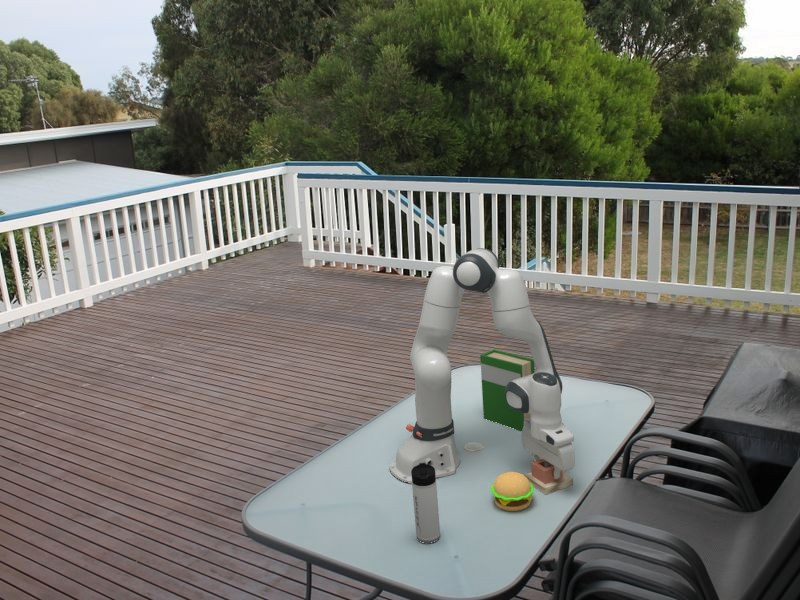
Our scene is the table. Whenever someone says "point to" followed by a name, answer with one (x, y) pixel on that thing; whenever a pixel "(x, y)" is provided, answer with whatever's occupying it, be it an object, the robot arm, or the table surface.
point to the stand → (549, 486)
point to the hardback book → (502, 386)
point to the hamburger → (512, 491)
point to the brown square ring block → (543, 471)
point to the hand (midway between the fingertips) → (547, 472)
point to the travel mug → (425, 503)
